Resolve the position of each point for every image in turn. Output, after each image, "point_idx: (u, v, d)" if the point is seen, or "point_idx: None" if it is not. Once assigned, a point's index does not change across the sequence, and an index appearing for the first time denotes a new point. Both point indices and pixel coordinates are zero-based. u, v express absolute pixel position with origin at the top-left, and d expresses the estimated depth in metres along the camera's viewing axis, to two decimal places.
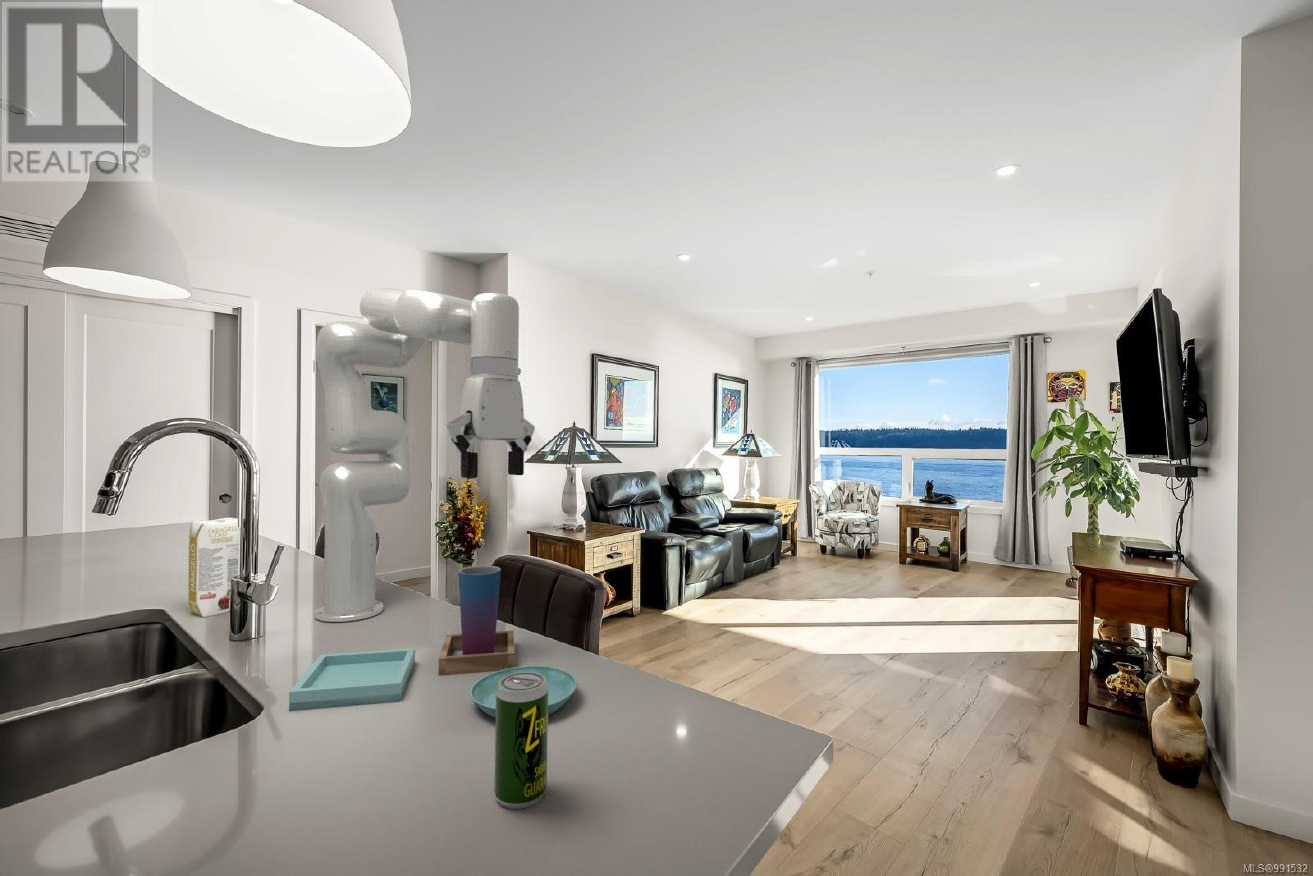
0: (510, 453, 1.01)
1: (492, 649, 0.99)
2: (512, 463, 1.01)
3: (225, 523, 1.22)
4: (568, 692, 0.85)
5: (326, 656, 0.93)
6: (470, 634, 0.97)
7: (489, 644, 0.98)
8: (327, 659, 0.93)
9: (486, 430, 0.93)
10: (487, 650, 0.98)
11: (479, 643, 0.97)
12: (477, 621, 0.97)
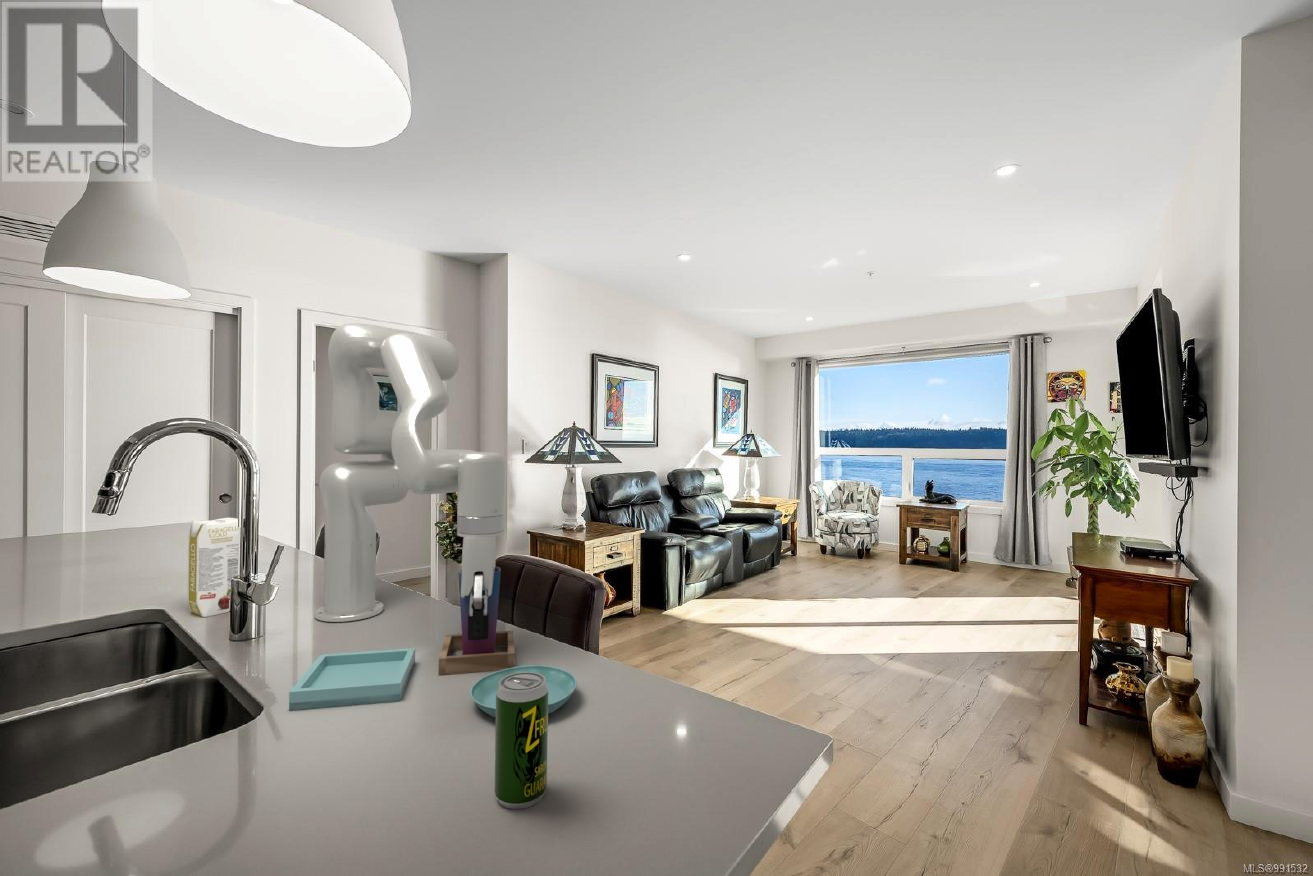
0: None
1: (492, 649, 0.99)
2: None
3: (225, 523, 1.22)
4: (568, 692, 0.85)
5: (326, 656, 0.93)
6: None
7: (490, 644, 0.98)
8: (327, 659, 0.93)
9: (492, 587, 0.97)
10: (487, 650, 0.98)
11: (479, 642, 0.97)
12: None
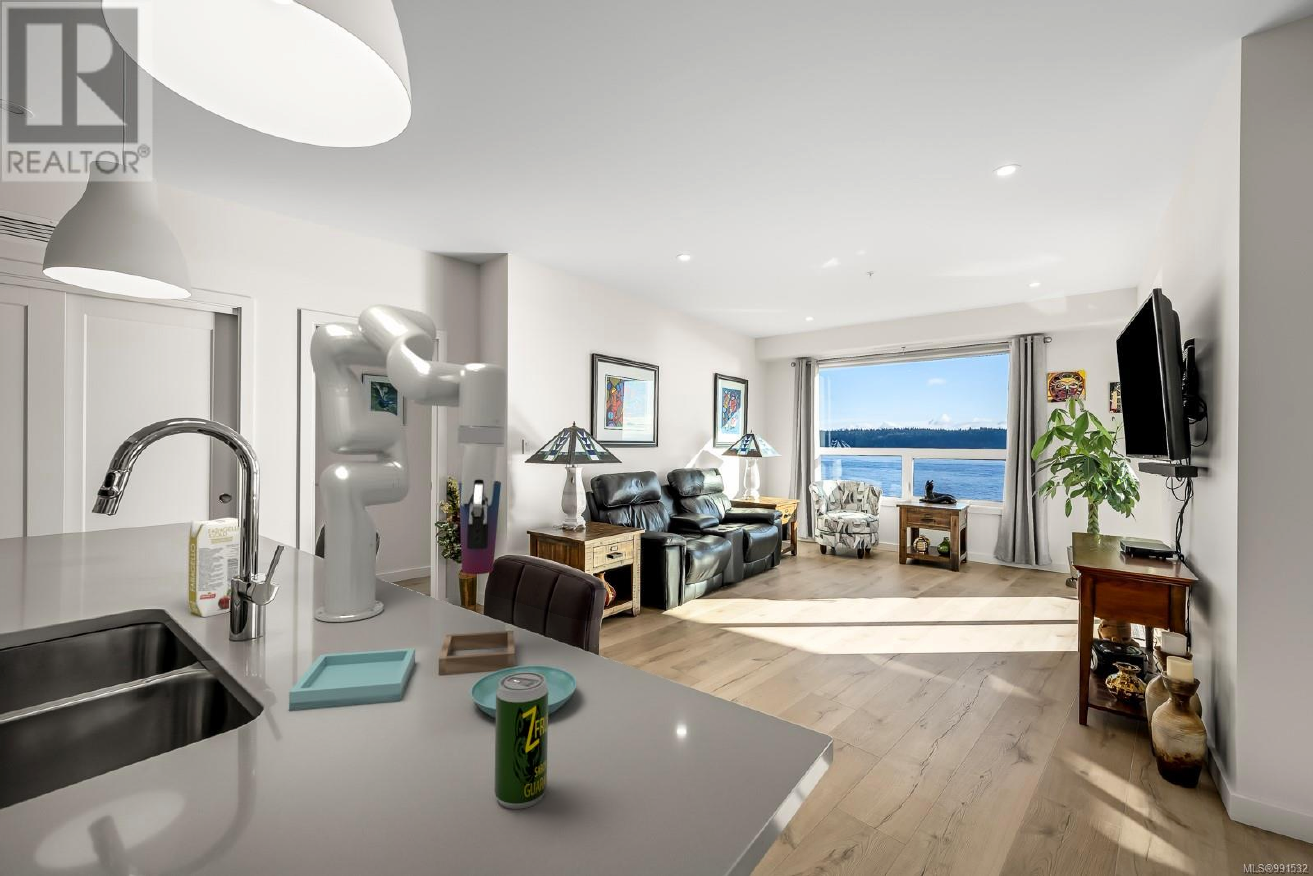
0: None
1: (491, 561, 0.99)
2: None
3: (225, 523, 1.22)
4: (568, 692, 0.85)
5: (326, 656, 0.93)
6: None
7: (489, 556, 0.98)
8: (327, 659, 0.93)
9: (492, 497, 0.97)
10: (486, 561, 0.98)
11: (478, 552, 0.97)
12: None
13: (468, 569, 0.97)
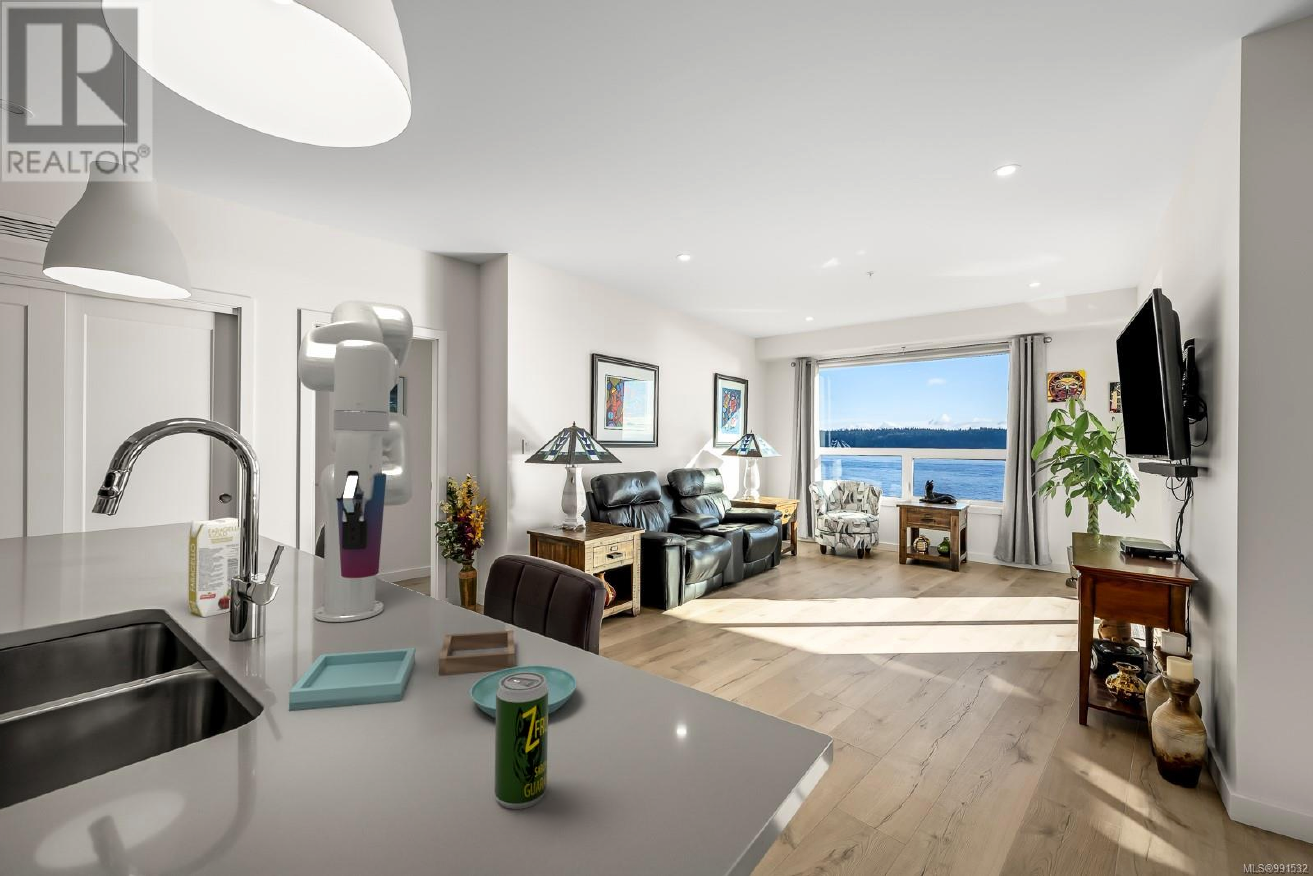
0: None
1: (374, 563, 0.88)
2: None
3: (225, 523, 1.22)
4: (568, 692, 0.85)
5: (326, 656, 0.93)
6: None
7: (370, 557, 0.87)
8: (327, 659, 0.93)
9: (371, 491, 0.86)
10: (367, 563, 0.87)
11: (357, 553, 0.86)
12: None
13: (346, 572, 0.86)
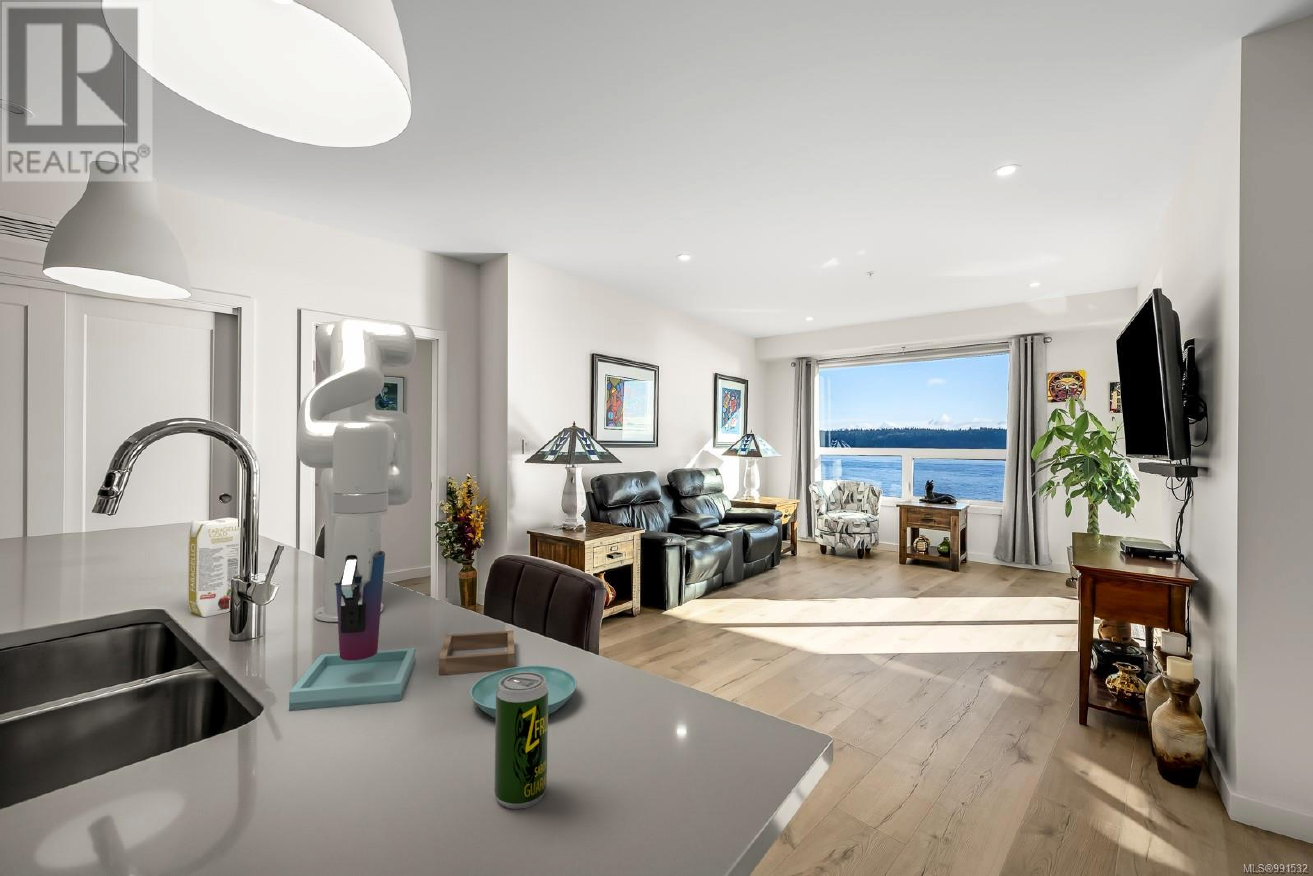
0: None
1: (373, 643, 0.88)
2: None
3: (225, 523, 1.22)
4: (568, 692, 0.85)
5: (326, 656, 0.93)
6: None
7: (369, 638, 0.87)
8: (327, 659, 0.93)
9: (370, 573, 0.86)
10: (366, 644, 0.87)
11: (355, 636, 0.86)
12: None
13: (345, 655, 0.86)
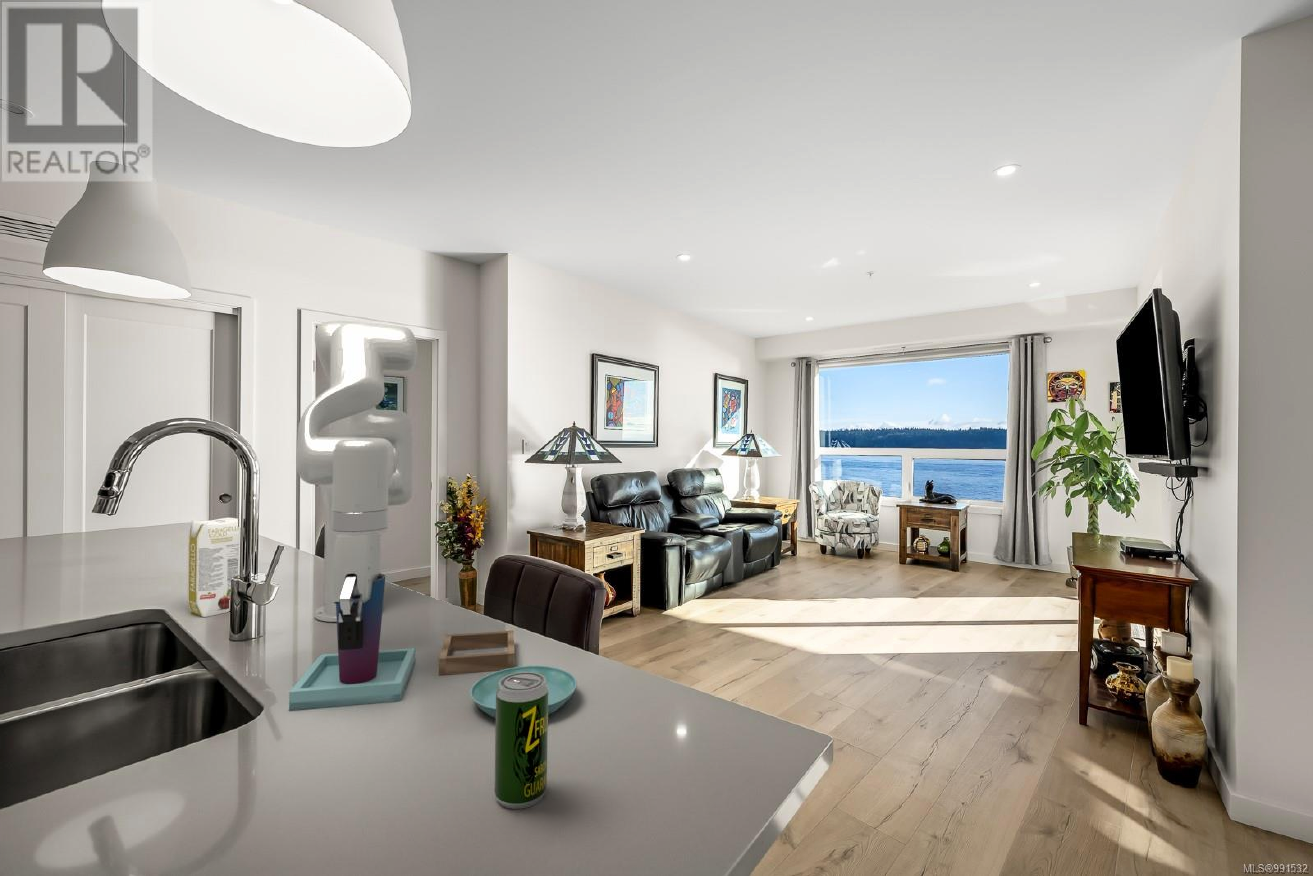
0: None
1: (373, 667, 0.88)
2: None
3: (225, 523, 1.22)
4: (568, 692, 0.85)
5: (326, 656, 0.93)
6: (345, 650, 0.86)
7: (369, 662, 0.87)
8: (327, 659, 0.93)
9: (369, 591, 0.86)
10: (366, 668, 0.87)
11: (355, 660, 0.86)
12: None
13: (344, 678, 0.86)
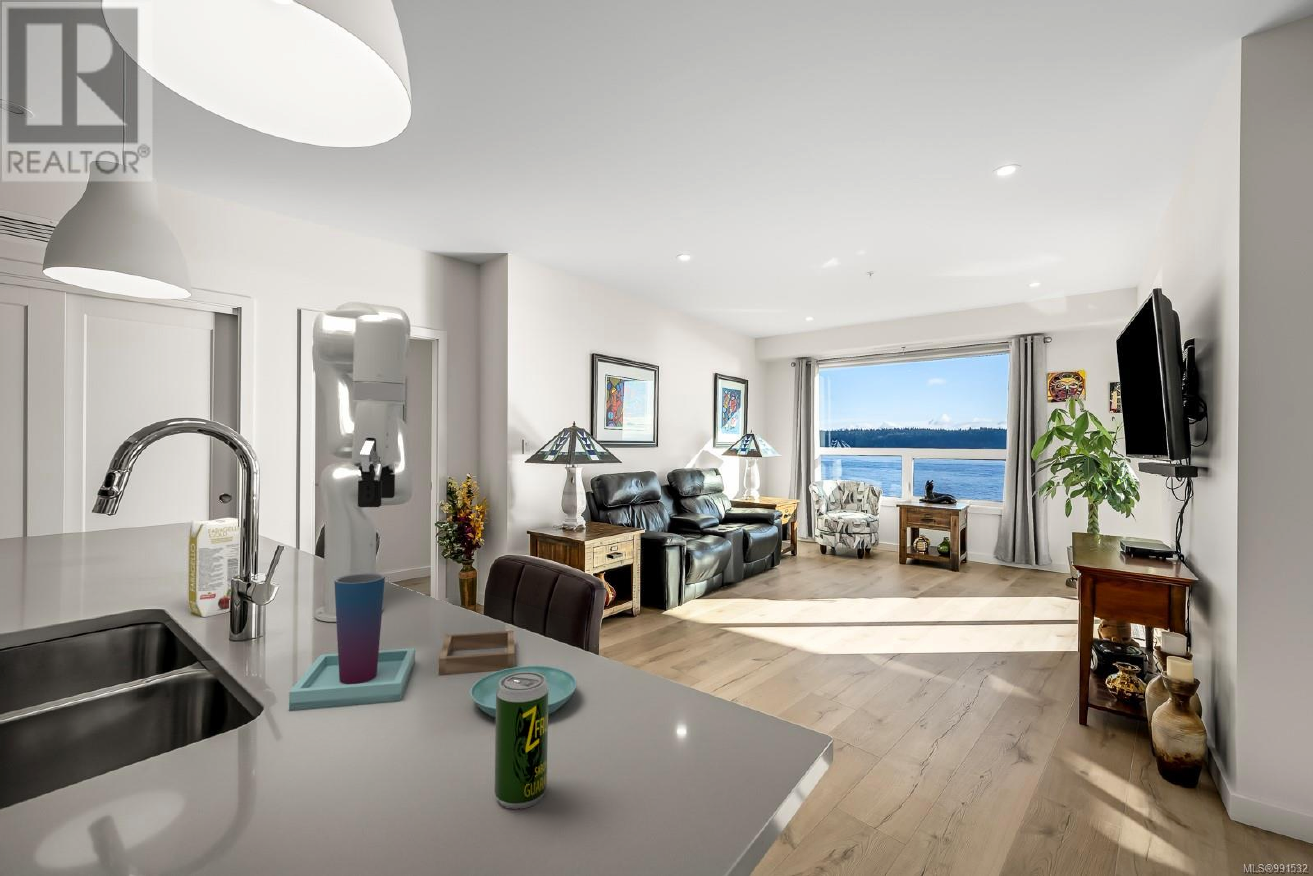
0: None
1: (373, 667, 0.88)
2: None
3: (225, 523, 1.22)
4: (568, 692, 0.85)
5: (326, 656, 0.93)
6: (345, 650, 0.86)
7: (369, 662, 0.87)
8: (327, 659, 0.93)
9: (387, 457, 0.92)
10: (365, 668, 0.87)
11: (355, 660, 0.86)
12: (353, 636, 0.86)
13: (344, 678, 0.86)
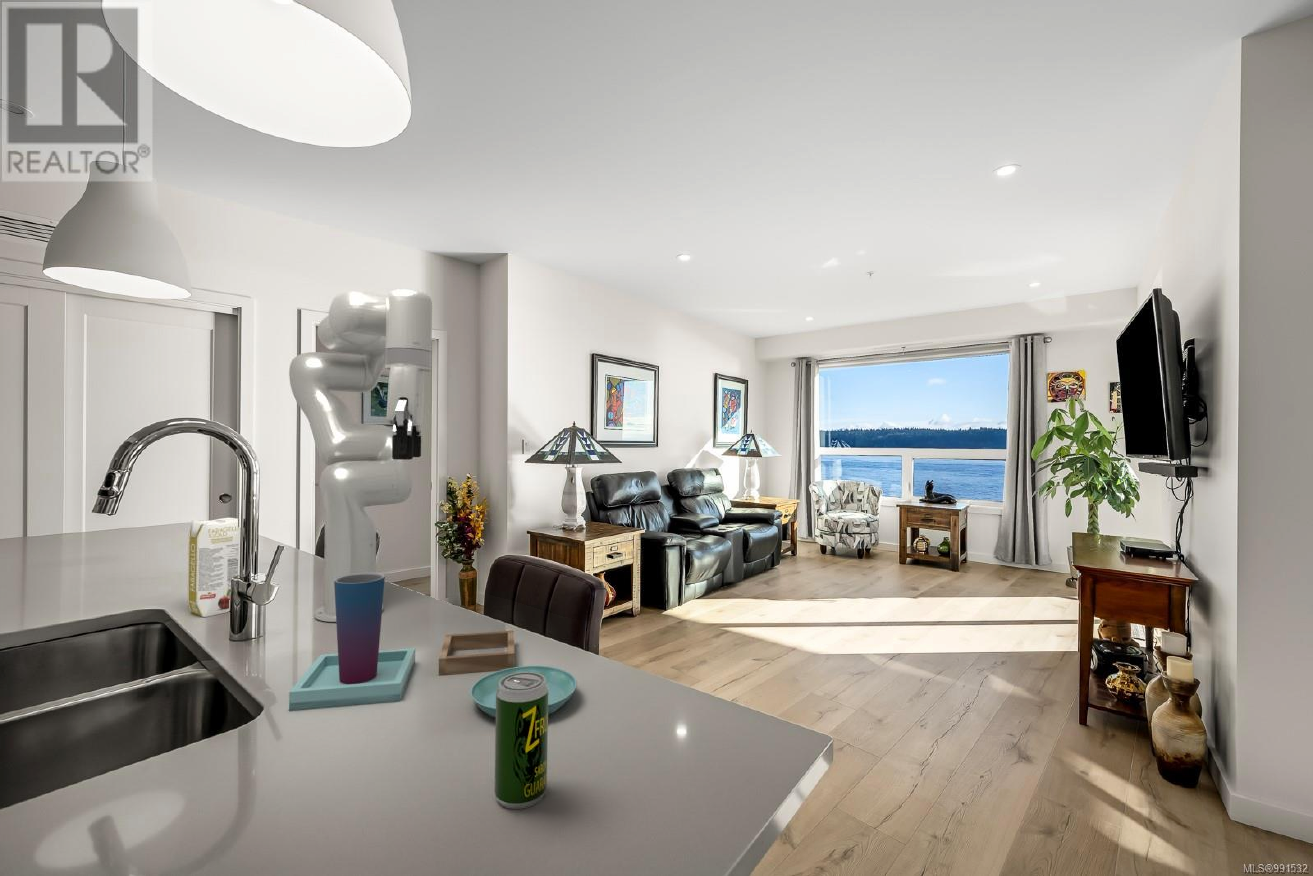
0: None
1: (373, 667, 0.88)
2: None
3: (225, 523, 1.22)
4: (568, 692, 0.85)
5: (326, 656, 0.93)
6: (345, 650, 0.86)
7: (369, 662, 0.87)
8: (327, 659, 0.93)
9: (417, 416, 1.02)
10: (365, 668, 0.87)
11: (355, 660, 0.86)
12: (353, 636, 0.86)
13: (344, 679, 0.86)
